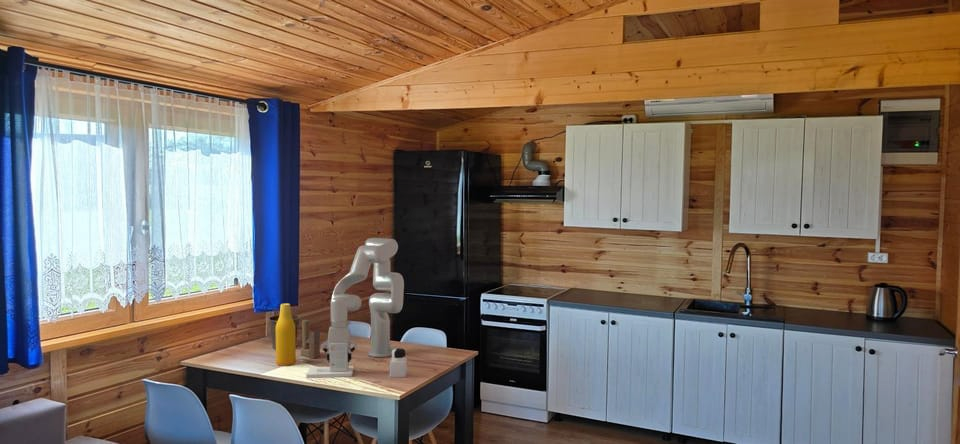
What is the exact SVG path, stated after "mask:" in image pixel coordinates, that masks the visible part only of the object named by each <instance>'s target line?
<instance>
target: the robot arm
mask: <svg viewBox="0 0 960 444" xmlns="http://www.w3.org/2000/svg"><path fill="white" fill-rule="evenodd" d="M397 242H398V241H396V239H394V238H386V237H385V238H384V237H383V238H382V237H372V238H371V237H370V238H367V239H366V240H365V242H364V245H361V246H358V248H357V250H356V252H355V256H354V259H353V261H352V264H351V267H350V270H349V272H348V273H347V274H346V275H345V276H343V277H342V278H341V279H340V280H339V281H338V282H337V283H336V285H335V287H334V288H333V291H332V295H331V299H330V326H329V328H328V332H327V333H328V334H327V340H325V341H324V342H322V343H320V349H322V350H323V351H324V353H325V354H326V361H328V364H330V347H329V344H330V343H347V346H348V362H349V363H350V362H351V361H352V353H353V352H354V351H355V350H356V349H357V347H358V345H359V343H358V342H356V341H355V340H352V339H351V330H350V326H349V325H352V324H351V321H349V320H348V312H355V311H358V310H359V309H360V308H361V306H362V298H361V297H360V296H359V295H356V294H347V293H345V292H346V291H347V290H348V289H349V288H350V287H351V286H354V285H355V284H358V283H360V282H361V283H362V282H363V281H365V280H367V277H368V275H369V271H370V268H371V266H372V264H373V271H372V272H373V273H372V274H373V275H372V276H373V277H372V286H373V288H374V289H375V290H377V291H382V292H375V293H372V295H370V297H369V298H368V306H369V311H370V351H368V352H367V355H368V356H369V357H370V358H371V357H372V358H386V357H387V358H388V357H392V350H393V349H397V348H399V347H398V346H391V320H390V316H389V314H398V313H400V312H401V311H402V309H403V305H404V291H405V290H404V289H405V281H404V277H403V275H402V274H401V273H399V272H391V260H390V258H392V257H394V256H395V255H396V254H397V252H398V249H399V245H398V243H397ZM384 291H385V292H390V293H384ZM388 313H389V314H388ZM351 344H352V345H353V346H352V348H351ZM326 345H327V347H325V346H326Z"/></svg>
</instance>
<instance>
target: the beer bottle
mask: <svg viewBox="0 0 960 444" xmlns="http://www.w3.org/2000/svg"><path fill="white" fill-rule="evenodd" d="M279 310H280V311H279V315H280V316H279V319H278V321H277V324H276V349H275V364H276V365H277V366H281V367H288V366H292V365H295V364H296V361H297V356H296V355H297V354H296V352H297V351H296V348H297V344H296V345H295V323H294V321H293V319H292V317H291V315H292V311H291V304H290V303H281V304H280V308H279Z"/></svg>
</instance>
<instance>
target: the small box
mask: <svg viewBox="0 0 960 444" xmlns="http://www.w3.org/2000/svg"><path fill="white" fill-rule="evenodd" d="M329 347H330V363H329V367H330V372H337V371H348V368H349V366H350V364H349V363H350V362H348V346H347V343H330V344H329Z"/></svg>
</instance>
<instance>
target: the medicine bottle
mask: <svg viewBox="0 0 960 444" xmlns="http://www.w3.org/2000/svg"><path fill="white" fill-rule="evenodd" d="M407 373H408V358H407V357H406V350H405V349H404V348H397V349H393V350H392V355H391V358H390V360H389V377H390V378H406V377H407Z"/></svg>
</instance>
